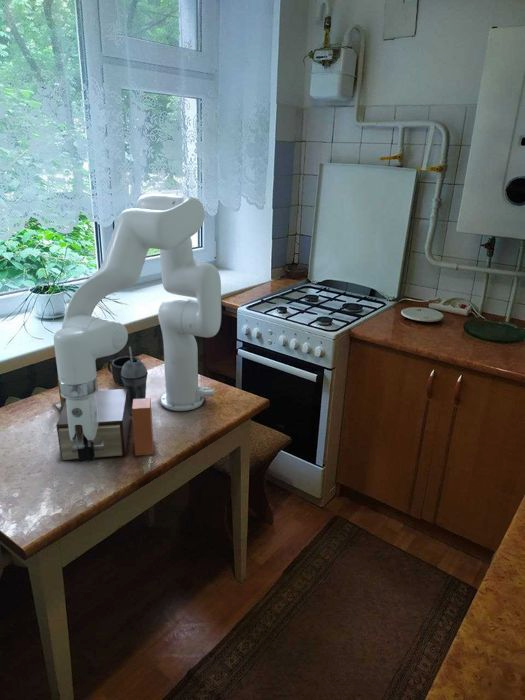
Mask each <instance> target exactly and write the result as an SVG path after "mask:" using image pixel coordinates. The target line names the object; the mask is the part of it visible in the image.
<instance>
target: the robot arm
mask: <svg viewBox="0 0 525 700" xmlns="http://www.w3.org/2000/svg"><path fill="white" fill-rule="evenodd" d="M205 216H206V212H205V207H204V205H203V203H202V202H201V200H199V199H198V198H196V197H193V196H188V195H187V196H186V195H174V194H165V193H146V194H143V195H141V196H140V197H139V198H138V199H137V201H136V208H127V209H125V210H123V211H122V212H120V213H119V215H118V217H117V219H116V222H115V225H114V227H113V230H112V233H111V236H110V239H109V242H108V246H107V248H106V251H105V254H104V257H103V259H102V262H101V265H100V268H99V269H98V270H96V271H95V272H94V273H93V274H92V275H90V276H89V277H88V278H87V279H86V280H85V281H84V282H83V283H81V285H80V286H79V287H78V288H77V289H76V290H75V292H74V293H73V294H72V296H71V298H70V299H69V302H68V305H67V308H66V310H65V314H64V316H63V321H62V323H61V329H59V330H57V331H56V332H55V334H54V335H53V347H54V354H55V363H56V369H57V380H58V379H59V387H60V394H61V396H62V397H63V398H66V405H67V407H66V408H67V418H68V427H69V435H70V439H71V441H73V442H74V440H75V437H76V441H77V449H78V458H79V459H78V462H80V463H85V462H94V460H95V458H94V457H95V453H94V444H93V442H91V441H92V440H94V438H95V436H96V432H97V428H98V423H99V415H98V408H97V401H96V395H95V394H96V393H97V392H98V390H99V385H98V376H97V374H98V373H97V365H96V360H97V359H100V358H105V357H110V356H113V355H115V354H117V353H119V352H120V351H122V350H123V349H124V348H125V346H126V345H127V342H128V339H129V332H128V330H127V328H126V327H125V326H124V325H123V324H122V323H121V322H119V321H116V320H113V319H108V318H102V317H99V316H94V315H93V312H94V310H95V308H96V307H97V305H98V304H99V303H100V302H101V301H102V300H103V299H105V298H106V297H107V296H110V295H111V294H114V293H115V292H118V291H121V290H124V289H126V288H129V287H132V286H134V285H136V284H137V283H138V282H139V281H140V277H141V274H142V271H143V268H144V265H145V261H146V258H147V256H148V253H149V250H150V249H152V250H159V256H160V257H159V259H160V274H161V283H162V288H163V289H164V291H166V292H167V293H168V294H171V295H176V296H182V297H169V298H166V299H164V300H163V301H162V302H161V304H160V305H159V308H158V312H157V317H158V323H159V326H160V327H159V328H160V330H161V335H162V340H163V341H162V342H163V361H164V363H163V364H164V365H163V366H164V383H165V386H164V387H165V392H164V393H163V394H162V395H161V397H160V405H161V406H162V407H163V408H165V409H167V410H170V411H175V412H186V411H192V410H195V409H198V408H199V407H201V406H202V405H203V404H204V400H205V397H215V390H214V389H210V386H205V387H202V386H200V382H199V357H198V356H199V355H198V353H199V352H198V351H199V349H198V348H199V347H198V342H197V340H196V338H195V337H200V338H213V337H215V336H216V335H217V334H218V333H219V331H220V328H221V324H222V282H221V274H220V272H219V269H218V268H217V267H216V266H215V265H214V264H212V263H209V262H204V261H196V260H195V259H194V252H193V251H194V250H193V241H192V238H191V237H193V236H194V235H196V234H197V233H198V232H199V231H200V230H201V228H202V227H203V225H204V222H205V218H206V217H205ZM183 297H188V298H183ZM191 298H194V299H191ZM195 299H196V300H195ZM59 387H58V388H59ZM60 394H59V395H60Z"/></svg>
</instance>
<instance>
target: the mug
mask: <svg viewBox="0 0 525 700" xmlns="http://www.w3.org/2000/svg"><path fill="white" fill-rule="evenodd" d="M132 358H133V359H136V360H139V361H141V362H142V359H140V358H139V357H136V356H132ZM129 360H131V358H130V355H129V356H128V355H127V356H126V355H125V356H120V357H117V358H115V359H110V360H109V361H108V362H107V370H108V372H109V373H111V375H112V380H113V381H114V383H115V384H117V385H119V386H124V383H123V381H122V377H121V370H122V367H123V365H124V364H125V363H126V362H127V361H129Z"/></svg>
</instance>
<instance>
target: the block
mask: <svg viewBox="0 0 525 700" xmlns="http://www.w3.org/2000/svg"><path fill="white" fill-rule="evenodd" d="M152 411H153V410H152V398H151V397H146V398H143V399H133V405H132V415H131V416H132V427H133V428H132V429H133V441H134V443H133V444H134V453H135V456H147V455H150V456H151V455H154V430H153V413H152Z"/></svg>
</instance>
